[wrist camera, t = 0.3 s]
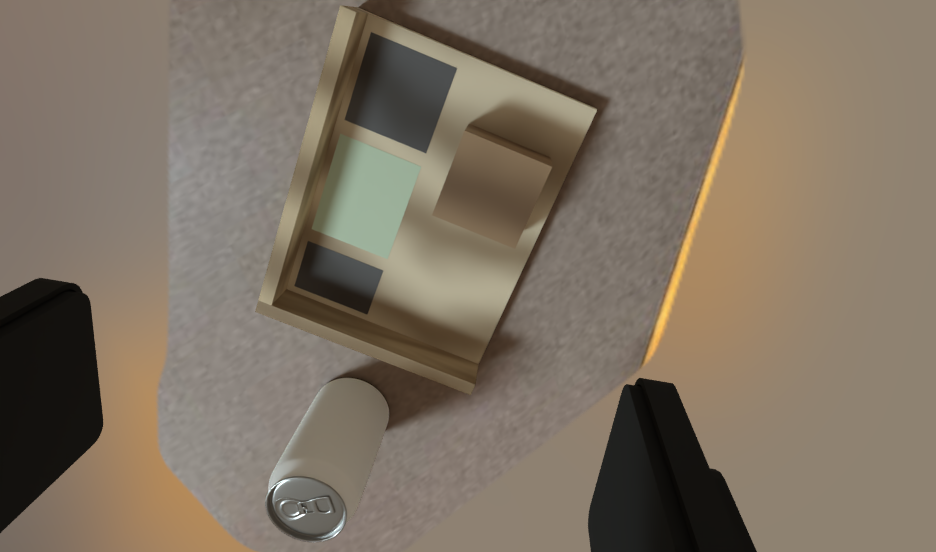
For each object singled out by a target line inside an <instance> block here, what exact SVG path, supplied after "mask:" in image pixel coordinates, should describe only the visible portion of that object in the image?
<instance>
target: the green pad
mask: <svg viewBox="0 0 936 552" xmlns="http://www.w3.org/2000/svg"><path fill="white" fill-rule="evenodd" d="M420 169H421V166H418V165H416V164H414V163H411V162H409V161H406V160H404V159H401V158H399V157H396V156H394V155H392V154H389V153H387V152H384V151H382V150H379V149H377V148H374V147H372V146H370V145H367V144H365V143H362V142H360V141H357V140H355V139H352V138H350V137H348V136H345V135H343V134H340V136H339V140H338V143H337V146H336V150H335V153H334V156H333V159H332V163H331V166H330V169H329V173H328V176H327V179H326V183H325V186H324V189H323V193H322V196H321V199H320V203H319V206H318V209H317V212H316V216H315V219H314V222H313V226H312V229H313V230H315V231H318V232H320V233H323V234H325V235H328V236H330V237H333V238H335V239H338V240H340V241H343V242H345V243H348V244H350V245H353V246H355V247H358V248H360V249H363V250H365V251H368V252H370V253H373V254H376V255H378V256H381V257H383V258H386V259H388V257H389V254H390V251H391V249H392V246H393V243H394V240H395V238H396V235H397V232H398V229H399V227H400V224H401V221H402V218H403V216H404V213H405V210H406V207H407V205H408V202H409V199H410V196H411V194H412V191H413V188H414V185H415V183H416V180H417V177H418V174H419V172H420Z"/></svg>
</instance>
